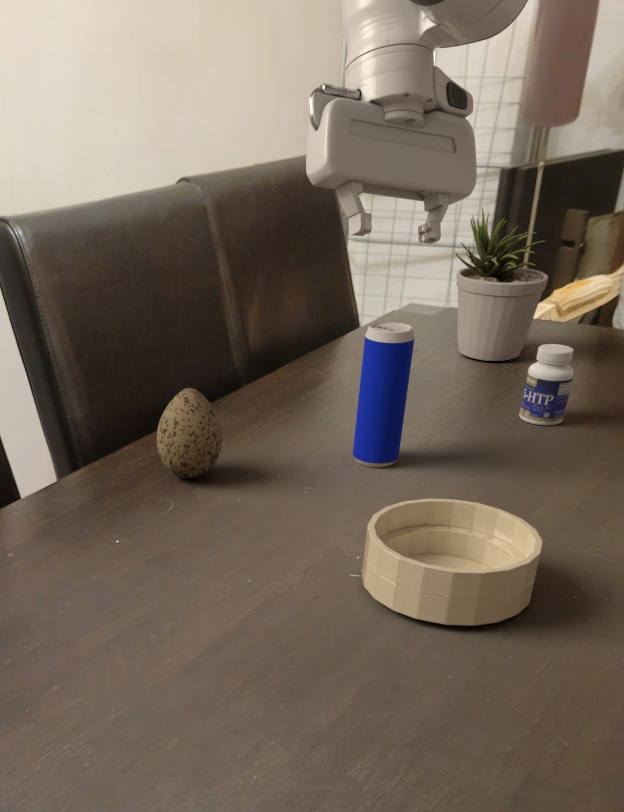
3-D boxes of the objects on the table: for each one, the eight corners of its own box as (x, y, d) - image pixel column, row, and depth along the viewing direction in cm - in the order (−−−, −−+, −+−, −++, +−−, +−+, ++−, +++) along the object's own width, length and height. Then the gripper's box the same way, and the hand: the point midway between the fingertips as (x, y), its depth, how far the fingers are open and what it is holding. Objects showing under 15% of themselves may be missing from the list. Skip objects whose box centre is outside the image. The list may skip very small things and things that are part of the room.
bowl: (509, 554, 90) (520, 500, 87) (547, 635, 78) (562, 575, 75) (355, 550, 91) (361, 496, 88) (369, 628, 79) (377, 569, 76)
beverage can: (404, 457, 110) (423, 324, 102) (387, 472, 107) (405, 336, 99) (362, 448, 113) (377, 318, 105) (344, 463, 109) (358, 329, 101)
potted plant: (509, 340, 151) (535, 201, 140) (546, 365, 139) (577, 216, 128) (431, 342, 150) (451, 204, 139) (461, 368, 139) (485, 219, 128)
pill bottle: (510, 419, 120) (524, 348, 116) (532, 409, 123) (546, 339, 119) (549, 429, 117) (565, 356, 112) (571, 419, 120) (587, 348, 115)
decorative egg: (232, 482, 105) (235, 392, 100) (174, 493, 103) (173, 403, 97) (202, 460, 111) (204, 374, 105) (146, 470, 108) (145, 383, 103)
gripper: (329, 65, 89) (336, 218, 91) (485, 98, 99) (489, 237, 100) (288, 94, 95) (296, 239, 96) (439, 124, 104) (444, 254, 106)
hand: (396, 238), depth 98 cm, fingers open, 8 cm apart
